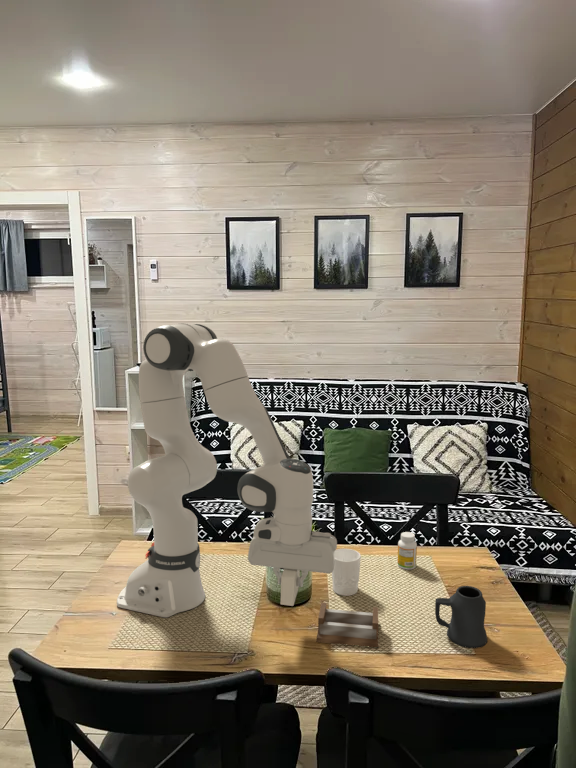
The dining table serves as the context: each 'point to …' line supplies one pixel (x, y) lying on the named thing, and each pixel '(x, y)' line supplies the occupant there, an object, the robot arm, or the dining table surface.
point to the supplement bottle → (407, 551)
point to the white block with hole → (289, 586)
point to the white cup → (346, 571)
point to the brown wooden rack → (348, 627)
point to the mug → (465, 617)
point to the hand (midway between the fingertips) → (290, 584)
